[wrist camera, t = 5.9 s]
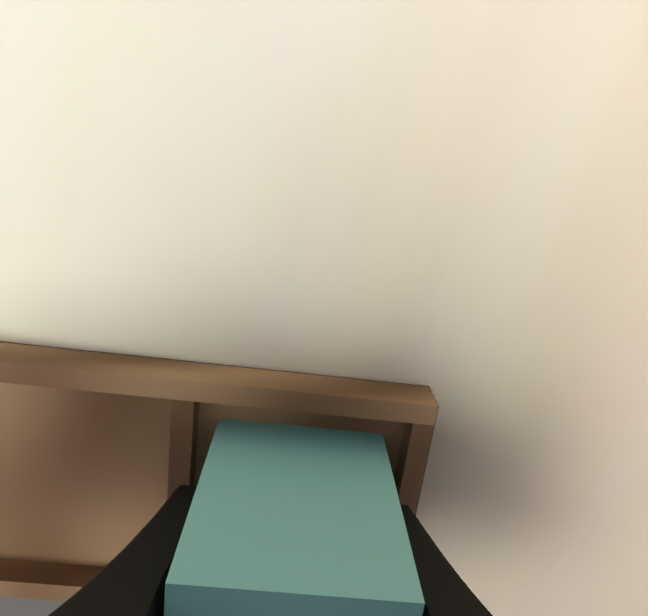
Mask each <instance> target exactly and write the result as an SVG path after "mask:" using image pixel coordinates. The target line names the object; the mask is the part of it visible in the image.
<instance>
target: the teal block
mask: <svg viewBox="0 0 648 616" xmlns="http://www.w3.org/2000/svg"><path fill="white" fill-rule="evenodd" d="M424 606H425V601H424V597H423V593H422V589H421V585H420V581H419V577H418V573H417V569H416V565H415V561H414V557H413V553H412V549H411V545H410V541H409V537H408V533H407V529H406V525H405V521H404V517H403V513H402V509H401V505H400V501H399V497H398V493H397V489H396V485H395V481H394V477H393V473H392V469H391V465H390V461H389V457H388V453H387V449H386V445H385V441H384V437H383V434H380V433H369V432H359V431H349V430H339V429H328V428H318V427H308V426H298V425H288V424H277V423H267V422H257V421H247V420H236V419H226V418H219V421H218V424H217V427H216V430H215V433H214V436H213V439H212V442H211V445H210V448H209V451H208V454H207V457H206V460H205V463H204V466H203V469H202V472H201V476H200V479H199V482H198V485H197V488H196V491H195V494H194V497H193V500H192V503H191V506H190V509H189V512H188V515H187V518H186V521H185V524H184V527H183V531H182V534H181V537H180V540H179V543H178V546H177V549H176V552H175V555H174V558H173V561H172V564H171V567H170V570H169V573H168V576H167V579H166V582H165V599H164V616H422V614H423V610H424Z"/></svg>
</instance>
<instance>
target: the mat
mask: <svg viewBox="0 0 648 616" xmlns="http://www.w3.org/2000/svg"><path fill="white" fill-rule="evenodd" d="M64 602H66V601H54V600H41V599H27V598H14V597H1V596H0V616H48V615H49V614H50V613H52V612H53V611H54V610H56V609H57V608H58V607H59V606H61V605H62V604H63V603H64Z"/></svg>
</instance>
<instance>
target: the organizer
mask: <svg viewBox="0 0 648 616" xmlns="http://www.w3.org/2000/svg"><path fill="white" fill-rule="evenodd" d="M438 407H439V406H438V404H437V402H436V400H435V398H434V396H433V394H432V392H431V389H430V387H428V386H418V385H408V384H399V383H389V382H380V381H370V380H360V379H351V378H341V377H331V376H322V375H312V374H303V373H293V372H283V371H274V370H264V369H255V368H245V367H235V366H226V365H216V364H206V363H197V362H187V361H178V360H168V359H158V358H149V357H139V356H129V355H120V354H110V353H101V352H91V351H81V350H72V349H62V348H53V347H43V346H33V345H24V344H14V343H4V342H0V596H1V597H14V598H27V599H41V600H54V601H67V600H68V599H69V598H70V597H72V596H73V595H74V594H75V593H76V592H78V591H79V590H80V589H81V588H82V587H83V586H85V585H86V584H87V583H88V582H89V581H90V580H91V579H92V578H94V577H95V576H96V575H97V574H98V573H99V572H100V571H101V570H102V569H103V568H104V567H105V566H106V565H107V564H108V563H109V562H110V561H111V560H113V559H114V558H115V557H116V556H117V555H118V554H119V553H120V552H121V551H122V550H123V549H124V548H125V547H126V546H127V545H128V544H129V543H130V542H131V540H132V539H133V538H134V537H135V536H136V535H137V534H138V533H139V532H140V531H141V530H142V529H143V528H144V527H145V525H146V524H147V523H148V522H149V521H150V520H151V519H152V518H153V516H154V515H155V514H156V513H157V512H158V511H159V509H160V508H161V507H162V506H163V505H164V503H165V502H166V501H167V500H168V498H169V497H170V496H171V495H172V493H173V492H174V491H175V489H176V488H178V487H179V486H180V485H188V486H197V485H198V482H199V479H200V476H201V472H202V469H203V466H204V463H205V460H206V457H207V454H208V451H209V448H210V445H211V442H212V439H213V436H214V433H215V430H216V427H217V424H218V421H219V418H226V419H236V420H247V421H257V422H267V423H277V424H288V425H298V426H308V427H318V428H328V429H339V430H349V431H359V432H369V433H380V434H383V437H384V441H385V445H386V449H387V453H388V457H389V461H390V465H391V469H392V473H393V477H394V481H395V485H396V489H397V493H398V497H399V501H400V505H408V506H409V508H410V509H411V510H412V512H413V513H414V514H415V515H416V511H417V506H418V501H419V496H420V492H421V487H422V482H423V478H424V473H425V468H426V463H427V459H428V454H429V449H430V444H431V440H432V435H433V430H434V426H435V421H436V416H437V411H438Z"/></svg>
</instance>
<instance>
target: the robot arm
mask: <svg viewBox="0 0 648 616" xmlns="http://www.w3.org/2000/svg"><path fill="white" fill-rule="evenodd" d="M196 488H197V486H188V485H180V486H179V487H178V488H176V489H175V491H174V492H173V493H172V495H171V496H170V497H169V498H168V500H167V501H166V502H165V503H164V505H163V506H162V507H161V508H160V509H159V511H158V512H157V513H156V514H155V515H154V516H153V518H152V519H151V520H150V521H149V522H148V523H147V524H146V525H145V527H144V528H143V529H142V530H141V531H140V532H139V533H138V534H137V535H136V536H135V537H134V538H133V539H132V540H131V542H130V543H129V544H128V545H127V546H126V547H125V548H124V549H123V550H122V551H121V552H120V553H119V554H118V555H117V556H116V557H115V558H114V559H113V560H111V561H110V562H109V563H108V564H107V565H106V566H105V567H104V568H103V569H102V570H101V571H100V572H99V573H98V574H97V575H96V576H95V577H94V578H92V579H91V580H90V581H89V582H88V583H87V584H86V585H85V586H83V587H82V588H81V589H80V590H79V591H78V592H76V593H75V594H74V595H73V596H72V597H70V598H69V599H68V600H67V601H66V602H64V603H63V604H62V605H61V606H59V607H58V608H57V609H56V610H54V611H53V612H52V613H50V614H49V615H48V616H164V599H165V582H166V579H167V576H168V573H169V570H170V567H171V564H172V561H173V558H174V555H175V552H176V549H177V546H178V543H179V540H180V537H181V534H182V531H183V527H184V524H185V521H186V518H187V515H188V512H189V509H190V506H191V503H192V500H193V497H194V494H195V491H196ZM401 509H402V513H403V517H404V521H405V525H406V529H407V533H408V537H409V541H410V545H411V549H412V553H413V557H414V561H415V565H416V569H417V573H418V577H419V581H420V585H421V589H422V593H423V597H424V601H425V606H424V610H423V614H422V616H492V614H491V613H490V612H489V611H488V610H487V609H486V608H485V607H484V605H483V604H482V603H481V602H480V601H479V600H478V599H477V597H476V596H475V595H474V594H473V593H472V592H471V590H470V589H469V588H468V587H467V585H466V584H465V583H464V582H463V580H462V579H461V578H460V577H459V575H458V574H457V573H456V571H455V570H454V569H453V567H452V566H451V565H450V564H449V562H448V561H447V560H446V558H445V557H444V556H443V554H442V553H441V552H440V550H439V549H438V547H437V546H436V545H435V543H434V542H433V540H432V539H431V538H430V536H429V535H428V533H427V532H426V530H425V529H424V528H423V526H422V525H421V523H420V522H419V520H418V519H417V517H416V516H415V514H414V513H413V512H412V510H411V509H410V508H409V506H408V505H401Z"/></svg>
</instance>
